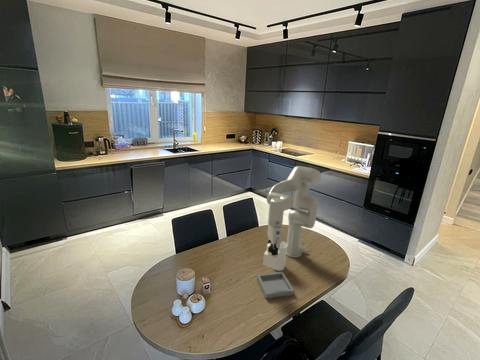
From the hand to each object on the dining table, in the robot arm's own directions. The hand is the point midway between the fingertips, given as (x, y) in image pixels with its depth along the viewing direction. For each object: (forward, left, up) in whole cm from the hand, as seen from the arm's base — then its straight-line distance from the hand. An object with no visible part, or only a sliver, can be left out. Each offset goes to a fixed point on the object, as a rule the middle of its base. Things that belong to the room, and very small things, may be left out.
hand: (272, 250), depth 139 cm
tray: (-2, +2, -22) cm, 22 cm away
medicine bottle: (0, 0, -8) cm, 8 cm away
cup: (-11, -15, -22) cm, 29 cm away
